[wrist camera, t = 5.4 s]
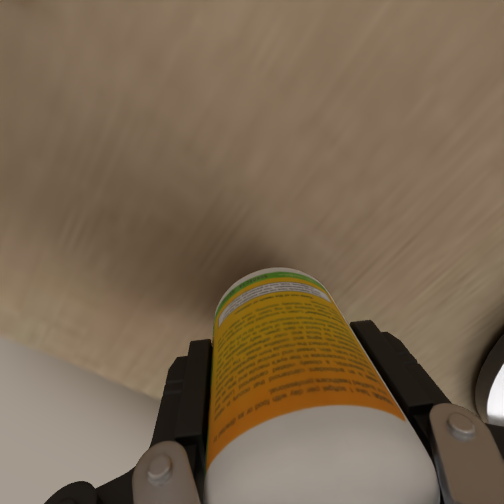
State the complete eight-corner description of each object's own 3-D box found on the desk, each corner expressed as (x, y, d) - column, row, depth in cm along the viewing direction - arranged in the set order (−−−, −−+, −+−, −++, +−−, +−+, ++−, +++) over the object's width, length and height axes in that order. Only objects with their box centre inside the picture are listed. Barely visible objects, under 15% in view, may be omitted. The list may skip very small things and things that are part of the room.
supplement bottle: (189, 303, 12) (79, 820, 3) (298, 240, 11) (588, 689, 2) (253, 376, 14) (299, 804, 5) (349, 327, 13) (599, 735, 4)
